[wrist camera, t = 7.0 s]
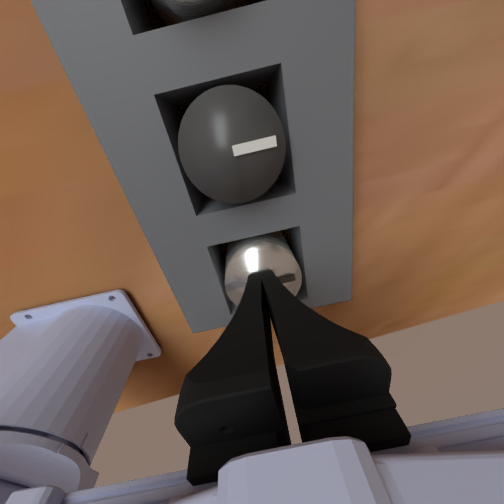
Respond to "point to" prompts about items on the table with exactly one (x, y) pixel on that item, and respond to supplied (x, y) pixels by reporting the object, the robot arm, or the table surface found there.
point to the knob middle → (231, 144)
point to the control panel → (168, 123)
